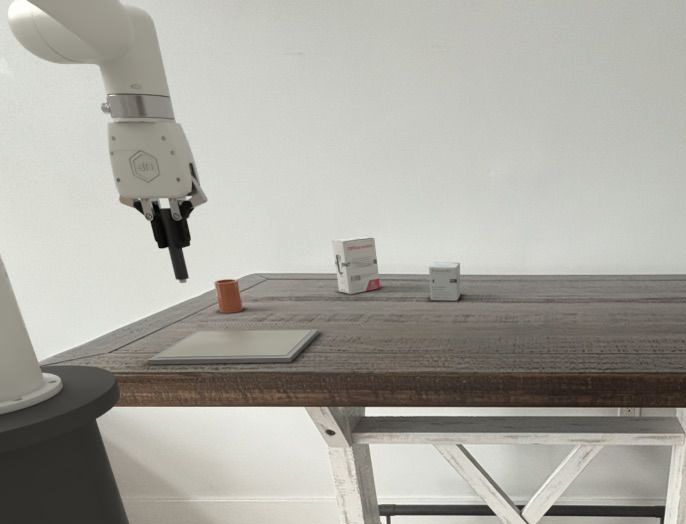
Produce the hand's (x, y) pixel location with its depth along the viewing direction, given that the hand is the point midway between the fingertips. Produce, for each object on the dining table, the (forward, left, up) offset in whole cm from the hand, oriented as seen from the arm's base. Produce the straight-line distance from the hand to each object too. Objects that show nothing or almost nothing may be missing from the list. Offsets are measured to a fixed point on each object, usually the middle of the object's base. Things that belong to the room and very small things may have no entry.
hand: (174, 246), depth 84 cm
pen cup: (+25, +5, -16) cm, 30 cm away
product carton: (+34, -38, -16) cm, 53 cm away
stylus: (0, 0, -6) cm, 6 cm away
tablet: (0, -7, -16) cm, 18 cm away
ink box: (+43, -17, -16) cm, 49 cm away
